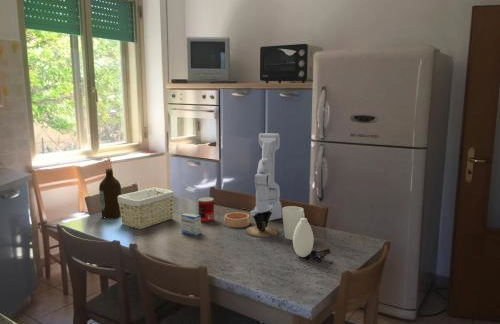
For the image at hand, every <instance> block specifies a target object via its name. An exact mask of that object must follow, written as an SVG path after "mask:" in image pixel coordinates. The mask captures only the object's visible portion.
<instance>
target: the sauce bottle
mask: <svg viewBox="0 0 500 324" xmlns="http://www.w3.org/2000/svg"><path fill="white" fill-rule="evenodd" d="M314 242H315V241H314V233H313V229H312V227H311V224H310V223H309V222H308V218H307V217H305V212H304V213H303V217H302V218H301V219H300V222H299V223H298V224H297V226H296V228H295V231H294V235H293V240H292V245H293V250H294V252H295V253H296V255H298V256H299V257H301V258H306V257H308V255H310V254H311V252H312V250H313V247H314Z"/></svg>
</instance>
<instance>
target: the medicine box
mask: <svg viewBox="0 0 500 324" xmlns="http://www.w3.org/2000/svg"><path fill="white" fill-rule="evenodd" d="M180 216H181V217H180V218H181V219H180V220H181V225H180V227H181V234H184V233H185V234H184V235H189V234H190V236H198V235H199V234H201V233H202V230H201V229H202V227H201V226H202V225H201V224H202V222H201V215H199V214H196V213H189V212H186V213H185V212H184V213H182V214H181V215H180Z"/></svg>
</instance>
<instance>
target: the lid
mask: <svg viewBox="0 0 500 324" xmlns="http://www.w3.org/2000/svg"><path fill="white" fill-rule="evenodd" d="M265 226H266V222H265V221H262V229H257V225H253V226H249V227H247V228H246V229H245V234H247V235H248V236H250V237H256V238H270V237H275V236H277V235H278V234H279V229H278V228H276V227H274V226H270V225H267V227H265Z"/></svg>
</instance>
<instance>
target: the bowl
mask: <svg viewBox="0 0 500 324" xmlns="http://www.w3.org/2000/svg"><path fill="white" fill-rule="evenodd" d="M250 217H251V216H250V213H246V212H240V211H239V212H238V211H237V212H229V213H226V214H224V225H225V226H226V227H228V228H234V229H235V228H245V227H248V226H249V225H251V224H250V220H251V218H250Z"/></svg>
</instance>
